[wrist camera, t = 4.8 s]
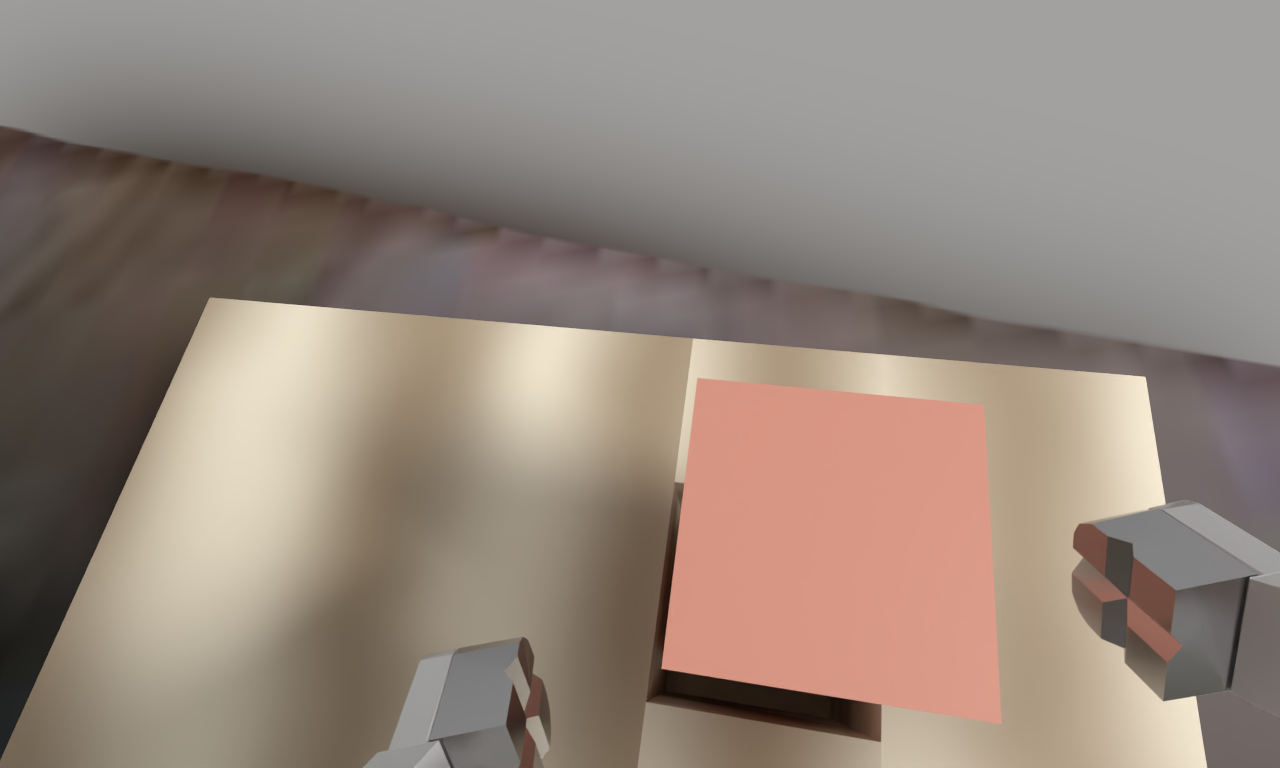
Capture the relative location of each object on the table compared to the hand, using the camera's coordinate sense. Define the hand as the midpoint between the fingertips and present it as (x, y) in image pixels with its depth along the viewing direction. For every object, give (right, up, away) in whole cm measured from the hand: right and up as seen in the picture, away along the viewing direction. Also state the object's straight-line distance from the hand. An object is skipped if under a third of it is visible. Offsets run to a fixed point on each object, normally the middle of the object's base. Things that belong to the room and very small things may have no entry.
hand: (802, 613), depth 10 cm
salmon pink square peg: (+1, -4, +10) cm, 10 cm away
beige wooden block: (-3, -4, +13) cm, 14 cm away
